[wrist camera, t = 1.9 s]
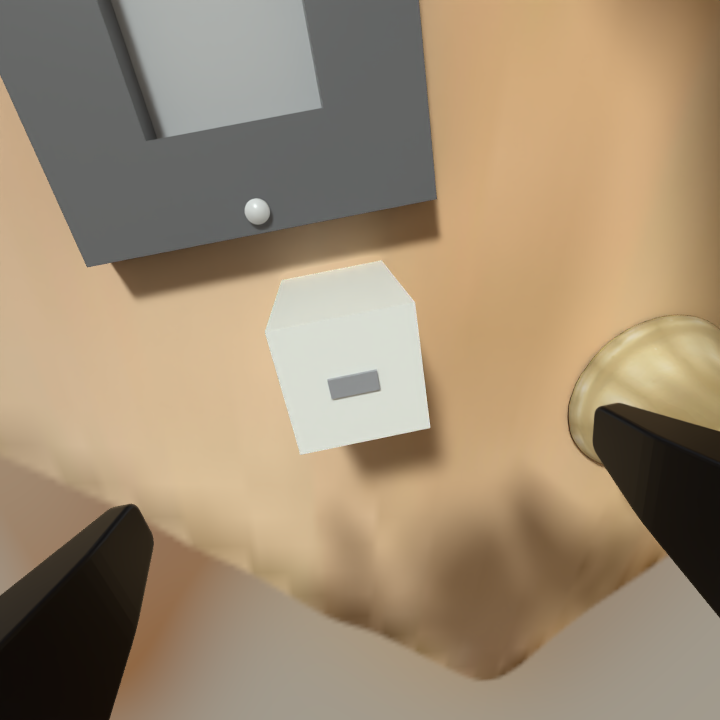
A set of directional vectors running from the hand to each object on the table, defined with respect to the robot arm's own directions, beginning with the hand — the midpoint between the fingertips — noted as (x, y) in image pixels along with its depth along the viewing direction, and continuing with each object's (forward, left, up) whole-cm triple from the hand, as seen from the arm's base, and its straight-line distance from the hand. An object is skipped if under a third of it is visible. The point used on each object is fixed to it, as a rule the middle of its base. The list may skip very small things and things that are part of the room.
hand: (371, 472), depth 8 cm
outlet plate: (+2, -10, -10) cm, 14 cm away
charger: (0, 0, -10) cm, 10 cm away
